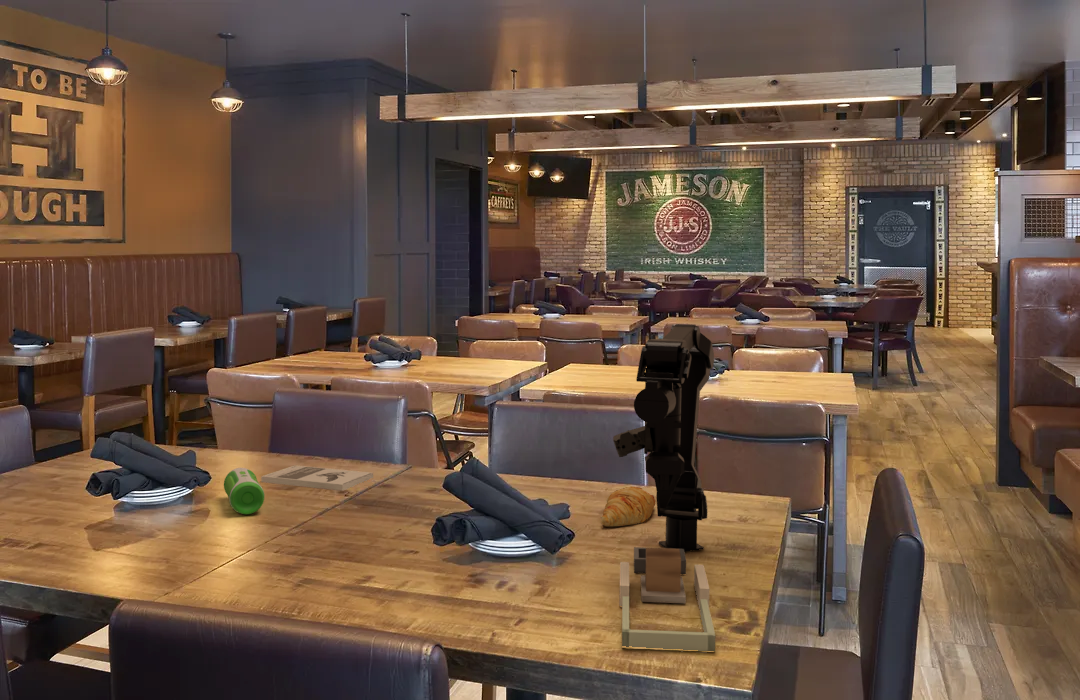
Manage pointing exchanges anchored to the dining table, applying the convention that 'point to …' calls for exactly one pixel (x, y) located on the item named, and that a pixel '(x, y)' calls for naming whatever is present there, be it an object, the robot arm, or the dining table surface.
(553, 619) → the dining table surface
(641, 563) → the tray
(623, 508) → the croissant
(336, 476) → the book
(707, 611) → the bay
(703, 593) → the channel
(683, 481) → the robot arm
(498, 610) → the dining table surface
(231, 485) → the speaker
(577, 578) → the dining table surface
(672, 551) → the brown block on plate
